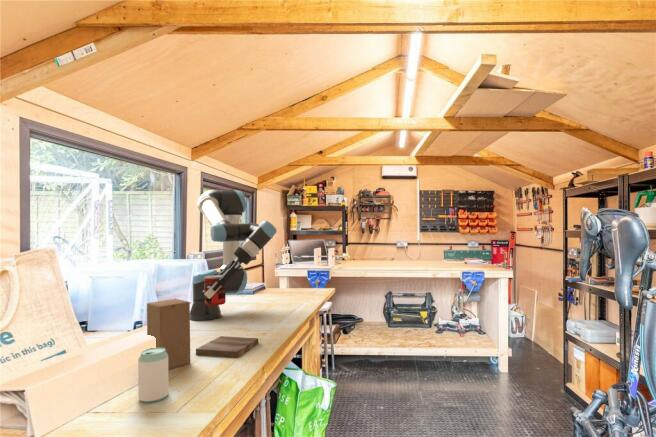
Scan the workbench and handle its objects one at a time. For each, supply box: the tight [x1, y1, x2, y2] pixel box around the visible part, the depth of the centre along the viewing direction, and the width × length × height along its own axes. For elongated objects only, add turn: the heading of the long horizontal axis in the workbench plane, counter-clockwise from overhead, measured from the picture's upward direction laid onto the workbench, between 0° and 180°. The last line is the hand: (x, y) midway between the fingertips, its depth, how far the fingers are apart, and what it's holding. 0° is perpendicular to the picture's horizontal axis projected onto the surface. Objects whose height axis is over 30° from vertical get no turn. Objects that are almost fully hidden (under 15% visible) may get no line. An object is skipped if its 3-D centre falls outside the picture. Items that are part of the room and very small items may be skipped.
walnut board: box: [195, 335, 259, 359], centre depth 135 cm, size 16×16×2 cm
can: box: [137, 348, 170, 404], centre depth 96 cm, size 7×7×12 cm
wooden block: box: [146, 298, 191, 370], centre depth 121 cm, size 10×10×20 cm
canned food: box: [204, 275, 227, 306], centre depth 149 cm, size 8×8×11 cm
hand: (206, 295), depth 147 cm, fingers closed on canned food, 8 cm apart
